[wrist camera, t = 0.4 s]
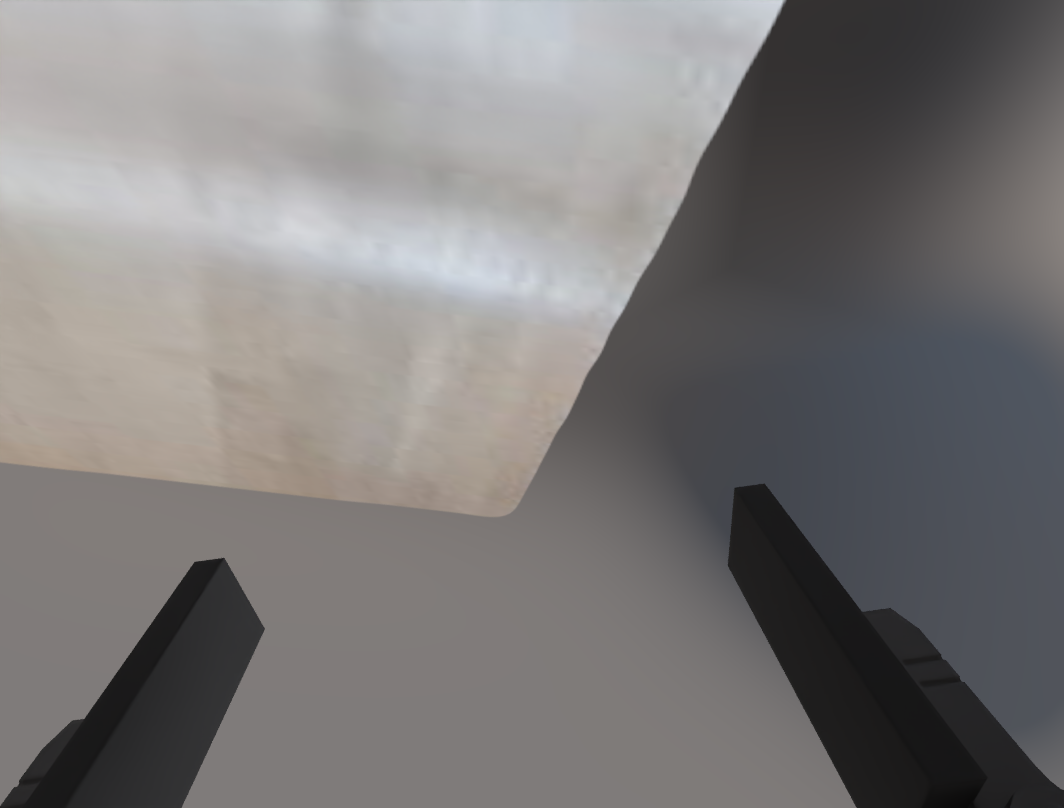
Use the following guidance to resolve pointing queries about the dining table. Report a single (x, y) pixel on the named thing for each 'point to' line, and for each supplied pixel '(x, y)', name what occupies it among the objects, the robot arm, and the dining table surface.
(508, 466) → the dining table surface
